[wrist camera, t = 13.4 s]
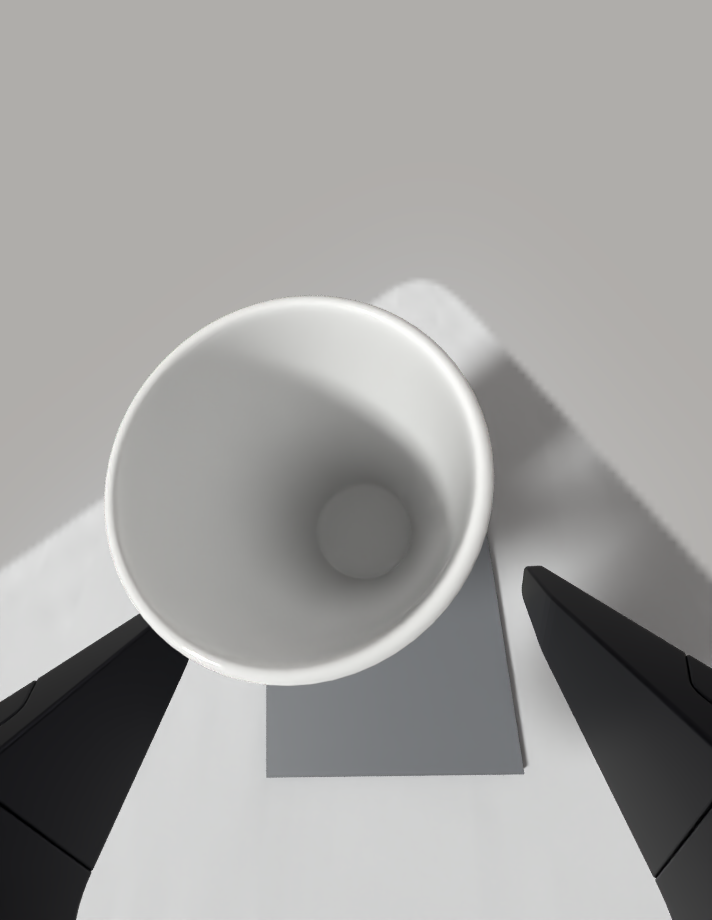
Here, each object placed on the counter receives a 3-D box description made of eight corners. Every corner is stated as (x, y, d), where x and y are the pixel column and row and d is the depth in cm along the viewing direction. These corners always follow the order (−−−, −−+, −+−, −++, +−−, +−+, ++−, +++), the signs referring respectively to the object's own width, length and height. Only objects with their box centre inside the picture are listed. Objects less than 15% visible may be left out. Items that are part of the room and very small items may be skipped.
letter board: (522, 770, 17) (524, 774, 17) (268, 774, 18) (266, 777, 18) (471, 440, 22) (472, 438, 21) (268, 459, 23) (266, 457, 22)
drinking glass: (390, 624, 19) (357, 812, 5) (282, 554, 21) (16, 536, 6) (452, 509, 20) (577, 383, 6) (346, 451, 22) (242, 238, 7)
